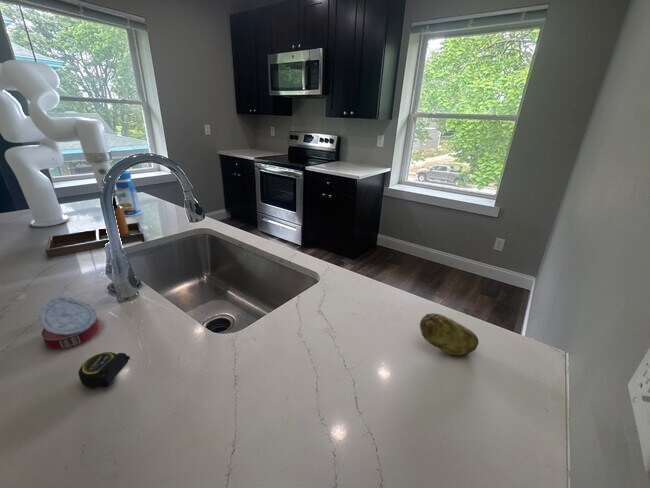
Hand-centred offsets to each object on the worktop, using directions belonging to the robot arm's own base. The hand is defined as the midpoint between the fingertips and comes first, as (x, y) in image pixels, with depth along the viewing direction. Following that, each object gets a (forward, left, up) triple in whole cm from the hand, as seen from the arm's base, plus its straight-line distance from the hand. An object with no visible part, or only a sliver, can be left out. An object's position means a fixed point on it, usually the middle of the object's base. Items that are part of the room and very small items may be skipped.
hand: (111, 205), depth 110 cm
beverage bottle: (-31, +6, -14) cm, 35 cm away
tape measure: (+73, -7, -14) cm, 75 cm away
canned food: (+55, -13, -14) cm, 58 cm away
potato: (+106, +57, -14) cm, 121 cm away
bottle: (0, 0, -13) cm, 13 cm away
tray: (0, -7, -14) cm, 16 cm away
